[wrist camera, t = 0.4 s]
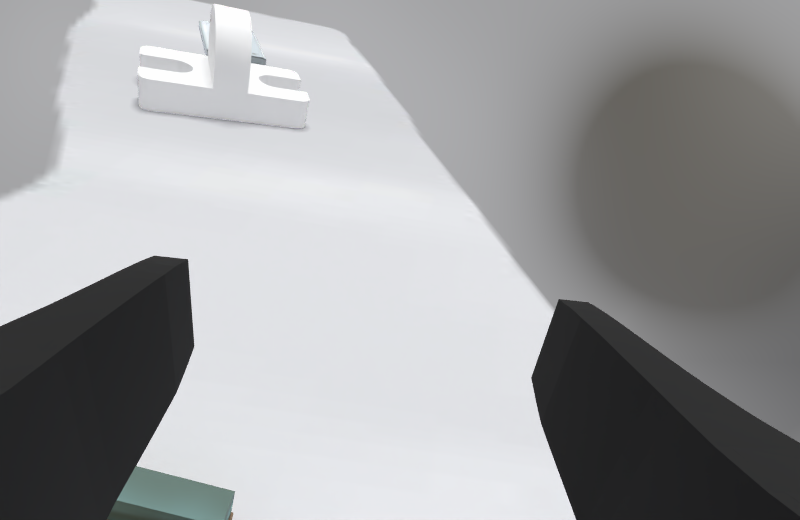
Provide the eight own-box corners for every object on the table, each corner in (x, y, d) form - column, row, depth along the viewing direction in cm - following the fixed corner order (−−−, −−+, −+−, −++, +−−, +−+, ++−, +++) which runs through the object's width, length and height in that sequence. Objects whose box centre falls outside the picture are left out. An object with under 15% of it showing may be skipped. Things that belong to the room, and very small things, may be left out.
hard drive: (266, 58, 71) (253, 28, 80) (206, 48, 68) (199, 18, 76) (265, 69, 72) (252, 39, 81) (205, 60, 69) (198, 29, 77)
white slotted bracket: (141, 76, 58) (138, -24, 52) (292, 98, 66) (305, 13, 60) (138, 111, 52) (134, 2, 45) (306, 131, 60) (323, 40, 53)
